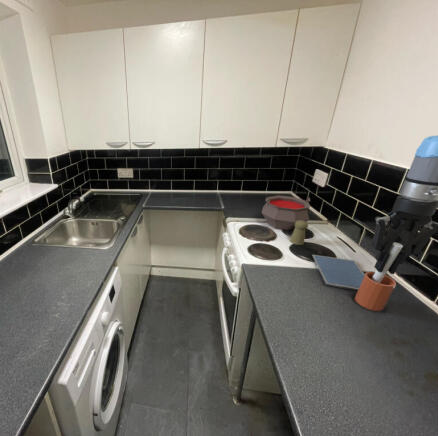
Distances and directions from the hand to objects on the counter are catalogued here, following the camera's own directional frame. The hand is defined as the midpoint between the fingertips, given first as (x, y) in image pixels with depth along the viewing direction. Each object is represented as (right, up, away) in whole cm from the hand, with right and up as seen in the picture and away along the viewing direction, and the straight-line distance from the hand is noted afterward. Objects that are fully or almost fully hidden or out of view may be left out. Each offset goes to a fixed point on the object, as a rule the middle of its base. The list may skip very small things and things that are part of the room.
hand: (383, 270), depth 70 cm
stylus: (+1, -9, +6) cm, 11 cm away
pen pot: (+1, -12, +5) cm, 13 cm away
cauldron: (+4, +12, +59) cm, 61 cm away
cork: (+1, +4, +42) cm, 42 cm away
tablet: (+3, -5, +20) cm, 21 cm away
